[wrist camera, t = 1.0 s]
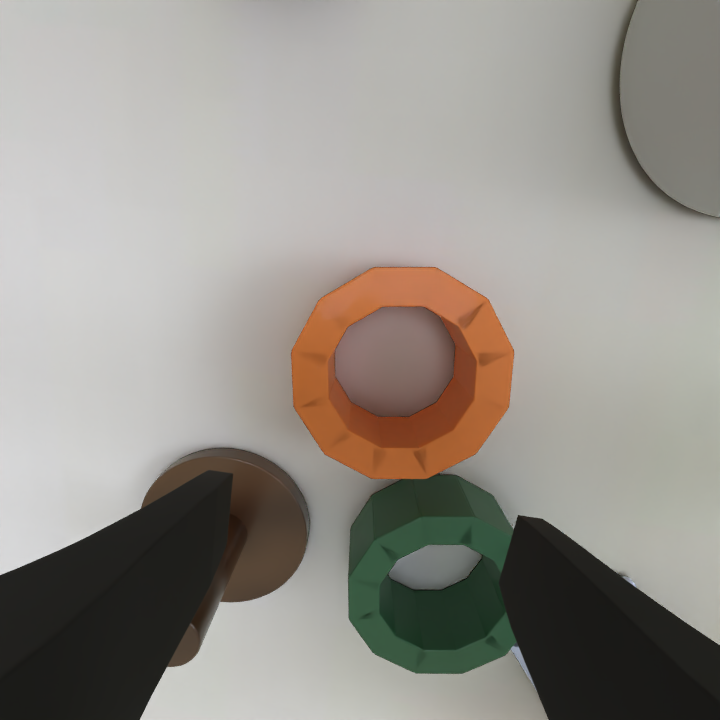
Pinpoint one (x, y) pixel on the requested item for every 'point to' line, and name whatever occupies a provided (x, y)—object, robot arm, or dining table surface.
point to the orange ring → (429, 426)
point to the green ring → (430, 607)
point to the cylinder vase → (675, 97)
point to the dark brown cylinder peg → (243, 532)
